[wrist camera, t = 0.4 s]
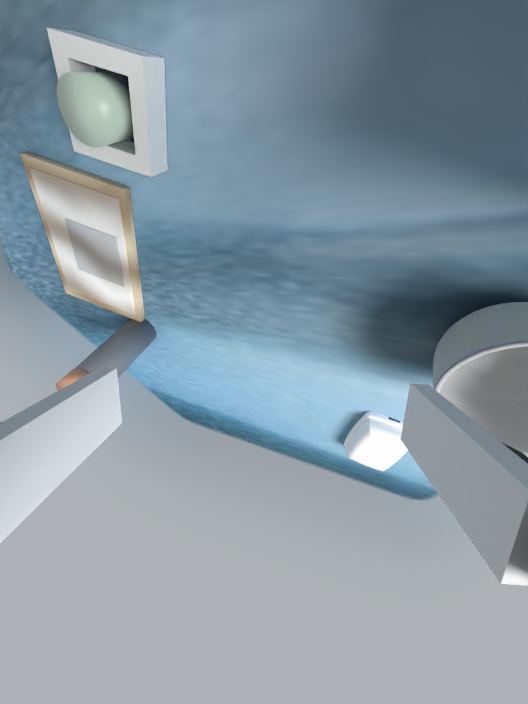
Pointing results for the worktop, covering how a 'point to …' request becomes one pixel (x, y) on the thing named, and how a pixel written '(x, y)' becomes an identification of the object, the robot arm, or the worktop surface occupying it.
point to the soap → (375, 441)
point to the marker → (115, 351)
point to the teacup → (488, 370)
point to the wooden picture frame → (89, 234)
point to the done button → (95, 107)
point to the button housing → (145, 97)
